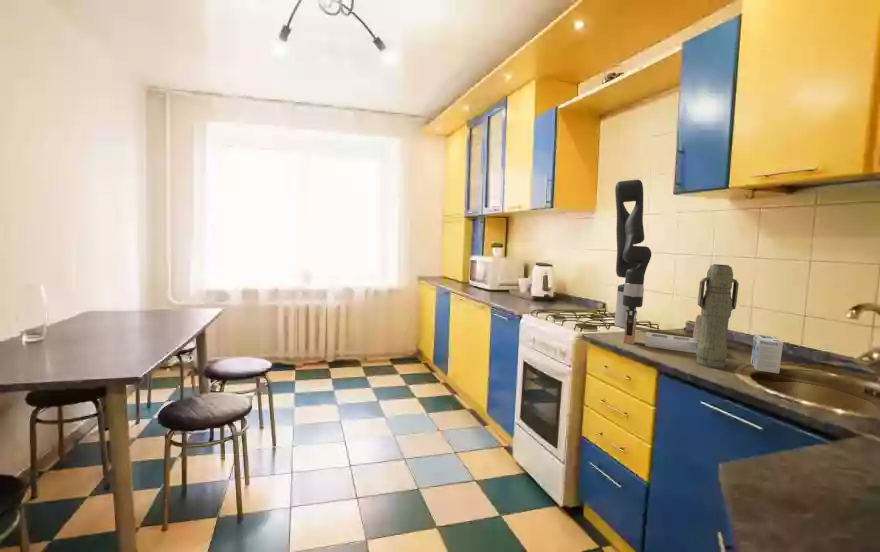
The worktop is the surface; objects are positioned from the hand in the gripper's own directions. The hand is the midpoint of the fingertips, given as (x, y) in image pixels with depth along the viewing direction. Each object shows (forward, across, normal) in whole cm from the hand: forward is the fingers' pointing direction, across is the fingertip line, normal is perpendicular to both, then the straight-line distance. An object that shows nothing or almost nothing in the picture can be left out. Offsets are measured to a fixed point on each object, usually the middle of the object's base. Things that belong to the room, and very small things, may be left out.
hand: (629, 333), depth 183 cm
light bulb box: (+4, +12, +44) cm, 46 cm away
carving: (+4, -20, +28) cm, 35 cm away
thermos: (+4, +19, +27) cm, 33 cm away
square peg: (+4, 0, 0) cm, 4 cm away
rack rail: (+4, -2, +19) cm, 20 cm away
